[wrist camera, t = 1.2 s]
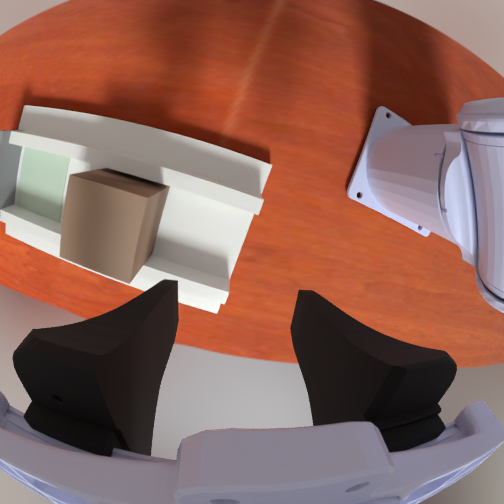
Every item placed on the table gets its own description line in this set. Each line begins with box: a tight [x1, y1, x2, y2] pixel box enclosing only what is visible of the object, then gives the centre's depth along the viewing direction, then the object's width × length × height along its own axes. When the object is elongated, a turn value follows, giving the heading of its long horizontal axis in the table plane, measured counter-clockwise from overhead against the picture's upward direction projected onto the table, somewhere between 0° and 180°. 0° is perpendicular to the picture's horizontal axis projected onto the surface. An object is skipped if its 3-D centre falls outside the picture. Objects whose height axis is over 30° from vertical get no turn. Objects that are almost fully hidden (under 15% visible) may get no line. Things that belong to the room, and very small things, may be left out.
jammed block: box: [59, 168, 170, 284], centre depth 15 cm, size 5×5×5 cm
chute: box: [0, 105, 272, 313], centre depth 16 cm, size 22×12×4 cm, turn 70°
